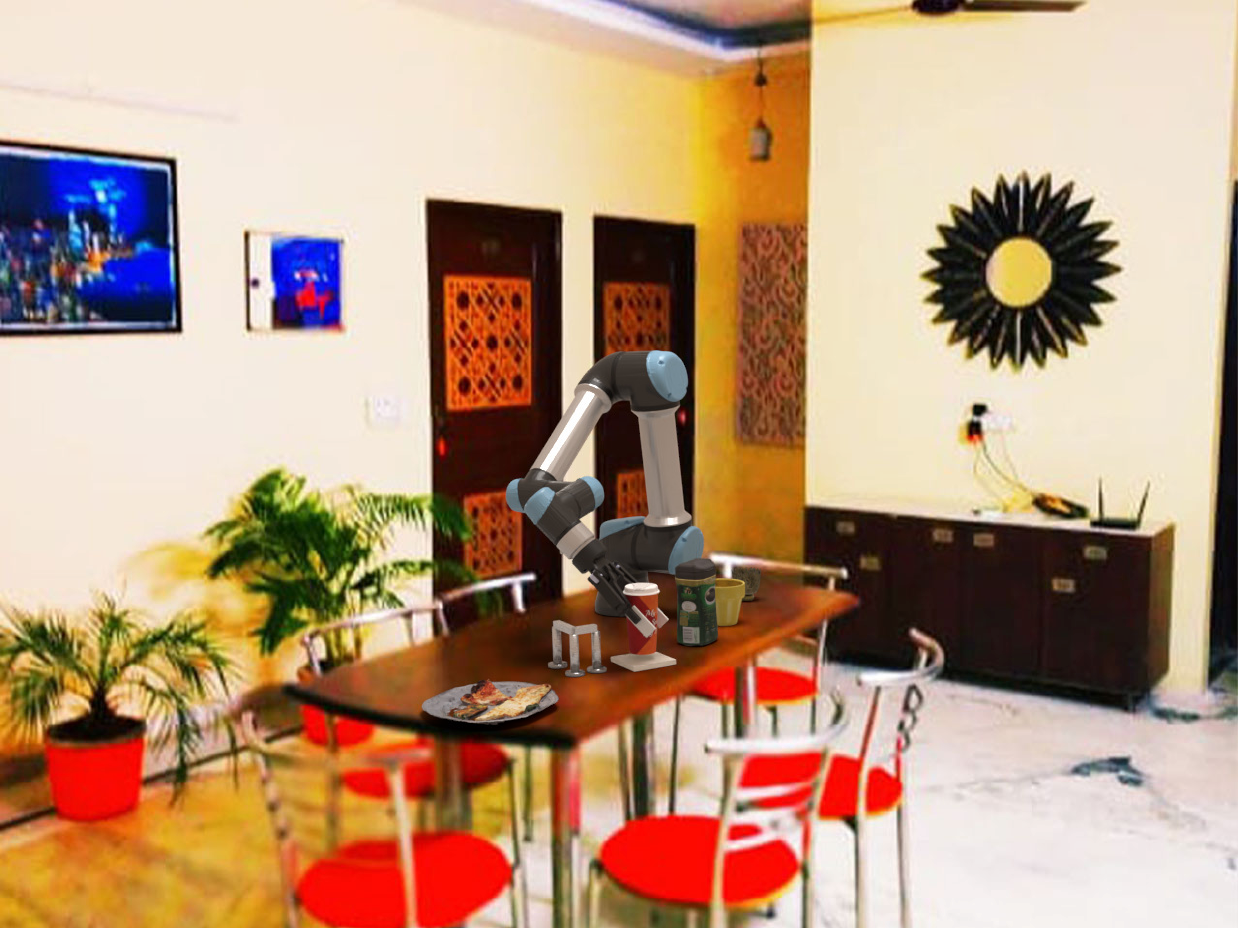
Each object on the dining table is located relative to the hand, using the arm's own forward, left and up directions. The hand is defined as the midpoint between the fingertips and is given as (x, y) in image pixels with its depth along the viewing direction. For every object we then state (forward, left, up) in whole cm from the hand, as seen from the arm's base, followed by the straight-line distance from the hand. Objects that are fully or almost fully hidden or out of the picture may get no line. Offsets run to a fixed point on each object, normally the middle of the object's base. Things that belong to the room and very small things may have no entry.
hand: (657, 628), depth 270 cm
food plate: (+11, -42, -8) cm, 44 cm away
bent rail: (-6, -16, -7) cm, 19 cm away
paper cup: (-3, -2, -5) cm, 6 cm away
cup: (-41, +51, -8) cm, 66 cm away
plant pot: (-23, +32, -8) cm, 40 cm away
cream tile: (-2, -2, -7) cm, 8 cm away
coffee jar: (-11, +17, -8) cm, 22 cm away
